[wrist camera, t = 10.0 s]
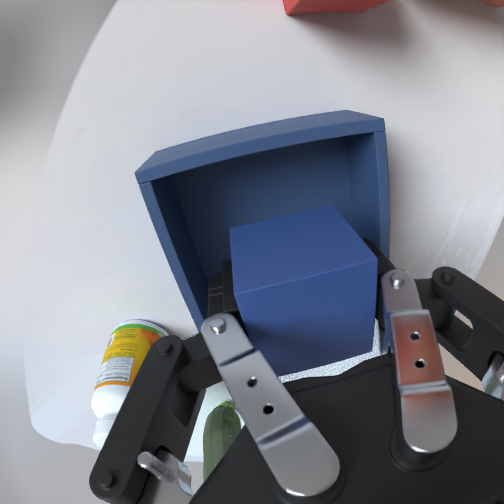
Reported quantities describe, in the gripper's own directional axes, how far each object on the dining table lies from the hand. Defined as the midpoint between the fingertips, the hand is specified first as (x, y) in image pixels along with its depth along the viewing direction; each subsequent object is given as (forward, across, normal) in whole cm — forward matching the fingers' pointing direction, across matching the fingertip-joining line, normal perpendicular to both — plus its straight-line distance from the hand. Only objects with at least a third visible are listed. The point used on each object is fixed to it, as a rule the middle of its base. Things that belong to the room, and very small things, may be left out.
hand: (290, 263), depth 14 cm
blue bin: (+5, 0, 0) cm, 5 cm away
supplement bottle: (+6, +12, +8) cm, 15 cm away
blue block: (0, 0, 0) cm, 0 cm away
